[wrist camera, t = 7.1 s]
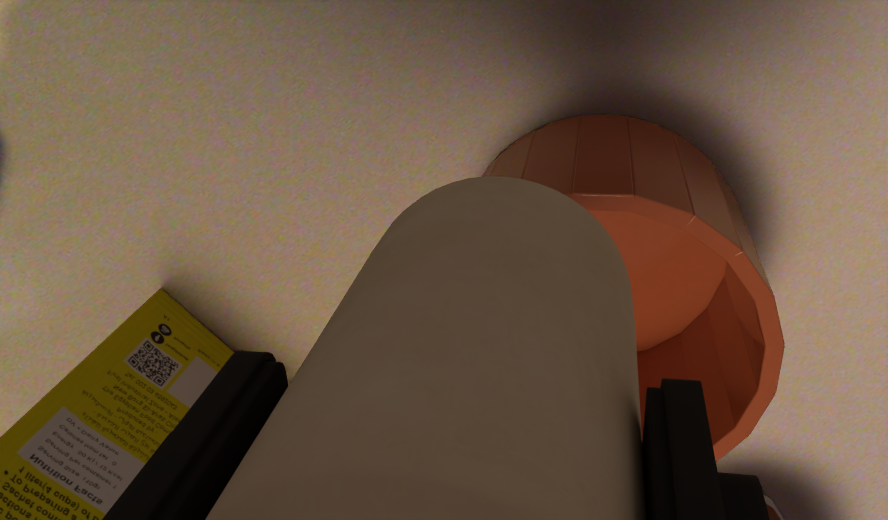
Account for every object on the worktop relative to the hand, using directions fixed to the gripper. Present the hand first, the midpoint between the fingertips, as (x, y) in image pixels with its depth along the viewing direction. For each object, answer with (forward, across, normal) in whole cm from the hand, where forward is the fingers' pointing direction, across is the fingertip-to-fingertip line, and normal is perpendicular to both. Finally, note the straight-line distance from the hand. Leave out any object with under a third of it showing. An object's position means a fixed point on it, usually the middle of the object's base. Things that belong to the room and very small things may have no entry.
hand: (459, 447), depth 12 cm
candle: (+5, 0, 0) cm, 5 cm away
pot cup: (+23, -2, +7) cm, 24 cm away
